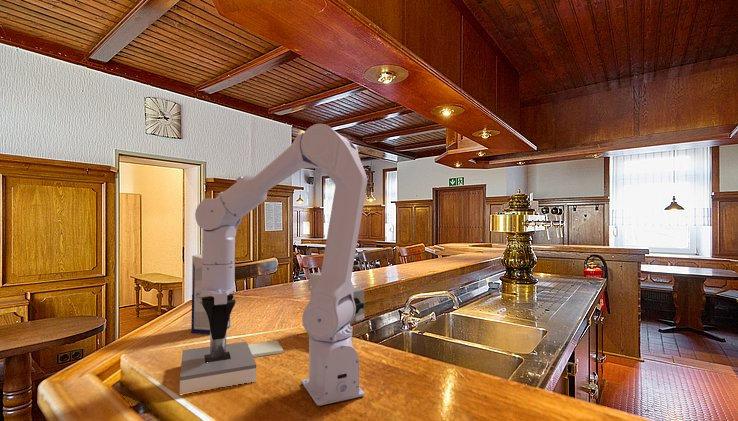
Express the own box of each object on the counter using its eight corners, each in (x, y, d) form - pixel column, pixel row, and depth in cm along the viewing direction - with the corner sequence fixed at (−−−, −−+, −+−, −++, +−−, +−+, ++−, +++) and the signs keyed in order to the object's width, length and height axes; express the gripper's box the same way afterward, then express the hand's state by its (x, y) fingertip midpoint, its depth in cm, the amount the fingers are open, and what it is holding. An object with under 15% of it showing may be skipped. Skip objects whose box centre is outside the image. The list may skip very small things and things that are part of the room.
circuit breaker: (350, 343, 85) (350, 278, 85) (308, 332, 93) (308, 273, 94) (369, 335, 91) (369, 274, 91) (328, 325, 99) (328, 270, 100)
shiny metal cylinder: (226, 356, 67) (227, 307, 68) (210, 358, 66) (210, 308, 67) (225, 351, 70) (226, 304, 70) (209, 353, 69) (210, 305, 69)
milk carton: (208, 325, 100) (209, 252, 101) (230, 326, 99) (231, 252, 99) (190, 333, 93) (191, 254, 94) (214, 334, 92) (215, 255, 92)
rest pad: (283, 352, 79) (283, 349, 79) (249, 357, 76) (249, 355, 76) (276, 343, 85) (277, 340, 85) (245, 347, 82) (245, 344, 82)
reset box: (256, 381, 64) (256, 364, 64) (179, 395, 59) (179, 377, 59) (246, 355, 77) (246, 341, 77) (182, 365, 72) (182, 350, 72)
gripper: (195, 261, 74) (194, 329, 73) (195, 268, 60) (194, 351, 60) (232, 259, 77) (231, 324, 76) (239, 266, 63) (239, 345, 63)
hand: (218, 336), depth 68 cm, fingers closed on shiny metal cylinder, 3 cm apart
